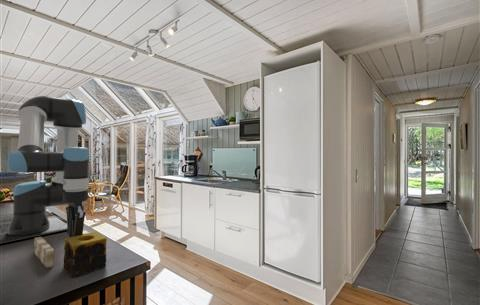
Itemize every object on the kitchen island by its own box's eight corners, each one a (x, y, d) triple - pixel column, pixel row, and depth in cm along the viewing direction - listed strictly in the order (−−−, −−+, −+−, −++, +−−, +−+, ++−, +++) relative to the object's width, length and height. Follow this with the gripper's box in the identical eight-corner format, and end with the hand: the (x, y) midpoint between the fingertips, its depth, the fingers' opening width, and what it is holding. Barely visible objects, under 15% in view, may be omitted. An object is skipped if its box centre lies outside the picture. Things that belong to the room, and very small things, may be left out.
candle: (71, 278, 74) (72, 246, 74) (62, 268, 80) (62, 238, 80) (107, 267, 82) (107, 237, 82) (95, 258, 88) (96, 230, 88)
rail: (34, 252, 91) (34, 238, 91) (40, 250, 93) (41, 236, 93) (46, 268, 80) (46, 251, 80) (53, 265, 81) (54, 249, 81)
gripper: (57, 188, 87) (56, 253, 87) (69, 193, 79) (67, 265, 79) (81, 186, 93) (80, 247, 93) (94, 191, 85) (92, 257, 85)
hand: (74, 255), depth 86 cm, fingers closed
